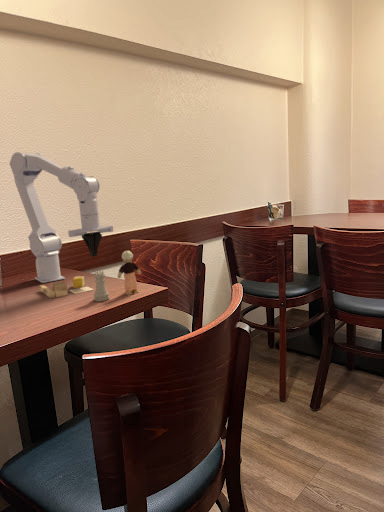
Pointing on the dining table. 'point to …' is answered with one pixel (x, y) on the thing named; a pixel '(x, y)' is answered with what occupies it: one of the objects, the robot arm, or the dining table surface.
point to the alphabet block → (78, 281)
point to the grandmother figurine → (129, 273)
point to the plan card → (81, 290)
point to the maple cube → (59, 289)
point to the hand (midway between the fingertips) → (93, 256)
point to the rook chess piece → (100, 288)
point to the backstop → (47, 291)
